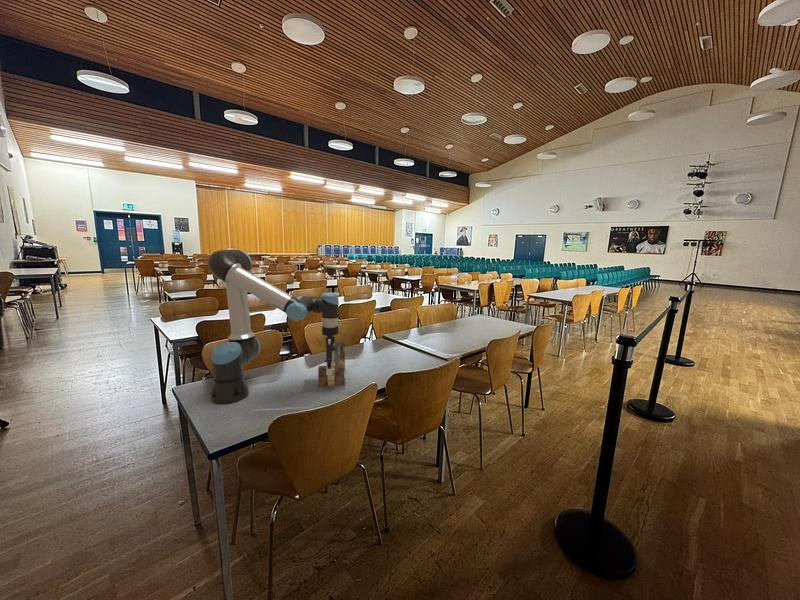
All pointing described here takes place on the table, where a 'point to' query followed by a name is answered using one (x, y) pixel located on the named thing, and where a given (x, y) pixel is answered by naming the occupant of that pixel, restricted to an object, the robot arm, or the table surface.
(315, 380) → the mat
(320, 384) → the brown u-shaped block
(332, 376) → the oak plate
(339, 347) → the coffee box
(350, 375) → the table surface
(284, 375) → the table surface
